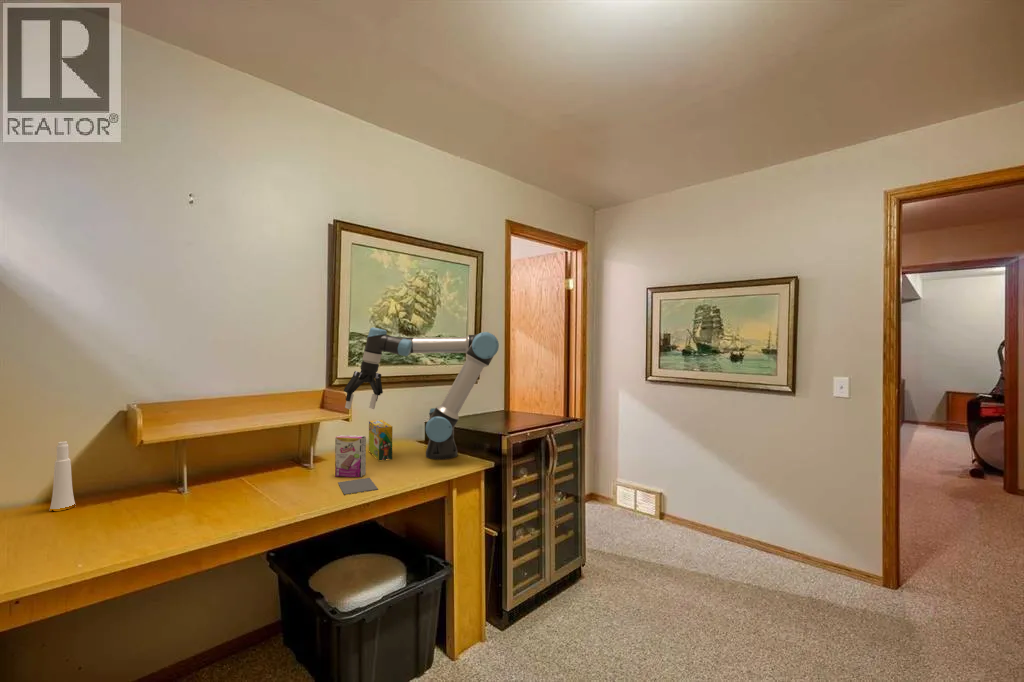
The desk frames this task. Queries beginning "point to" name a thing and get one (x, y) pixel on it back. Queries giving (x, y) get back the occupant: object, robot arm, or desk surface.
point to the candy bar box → (350, 456)
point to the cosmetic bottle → (62, 479)
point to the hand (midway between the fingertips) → (360, 408)
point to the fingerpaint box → (380, 439)
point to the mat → (357, 486)
